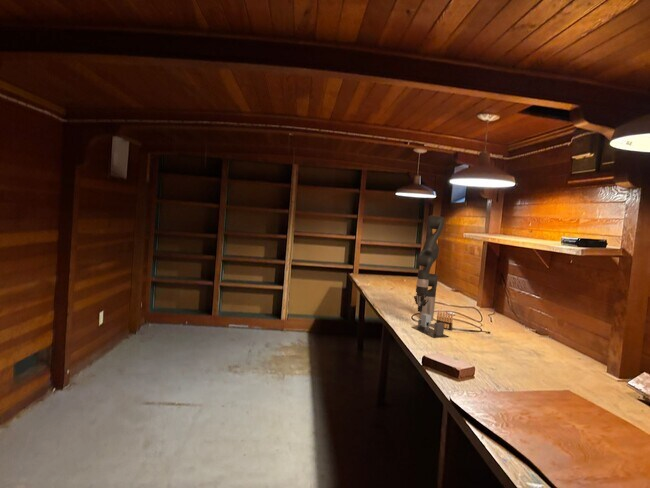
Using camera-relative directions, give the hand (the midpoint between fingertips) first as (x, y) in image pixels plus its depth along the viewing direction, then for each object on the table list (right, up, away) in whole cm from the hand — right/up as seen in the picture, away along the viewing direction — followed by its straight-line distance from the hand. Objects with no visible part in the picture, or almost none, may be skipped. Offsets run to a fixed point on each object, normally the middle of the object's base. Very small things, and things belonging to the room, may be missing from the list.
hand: (419, 311), depth 266 cm
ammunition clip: (+16, -12, +1) cm, 20 cm away
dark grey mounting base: (+4, -11, -11) cm, 16 cm away
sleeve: (+2, -8, -6) cm, 11 cm away
